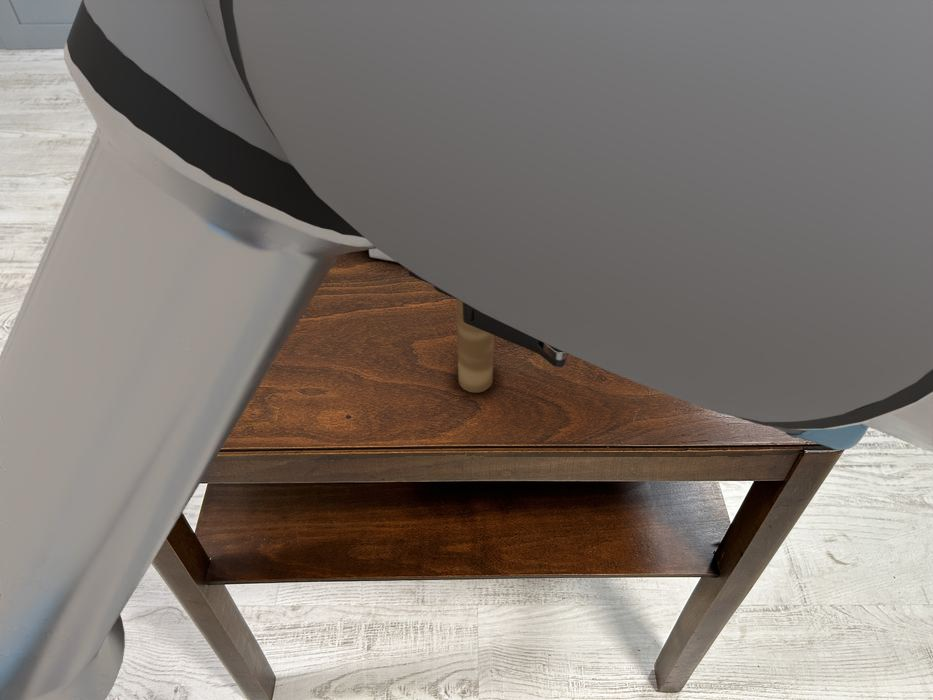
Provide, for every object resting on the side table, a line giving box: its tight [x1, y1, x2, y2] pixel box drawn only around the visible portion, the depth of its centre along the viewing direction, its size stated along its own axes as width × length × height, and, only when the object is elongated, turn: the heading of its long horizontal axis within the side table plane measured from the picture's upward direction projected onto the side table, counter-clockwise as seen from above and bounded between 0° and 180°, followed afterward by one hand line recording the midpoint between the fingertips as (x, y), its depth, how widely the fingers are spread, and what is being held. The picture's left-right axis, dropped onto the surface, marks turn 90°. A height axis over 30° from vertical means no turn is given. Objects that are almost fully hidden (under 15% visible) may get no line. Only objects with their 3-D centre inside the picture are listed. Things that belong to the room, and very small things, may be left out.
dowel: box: [456, 299, 495, 394], centre depth 66 cm, size 4×4×28 cm
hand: (426, 246), depth 67 cm, fingers open, 4 cm apart
